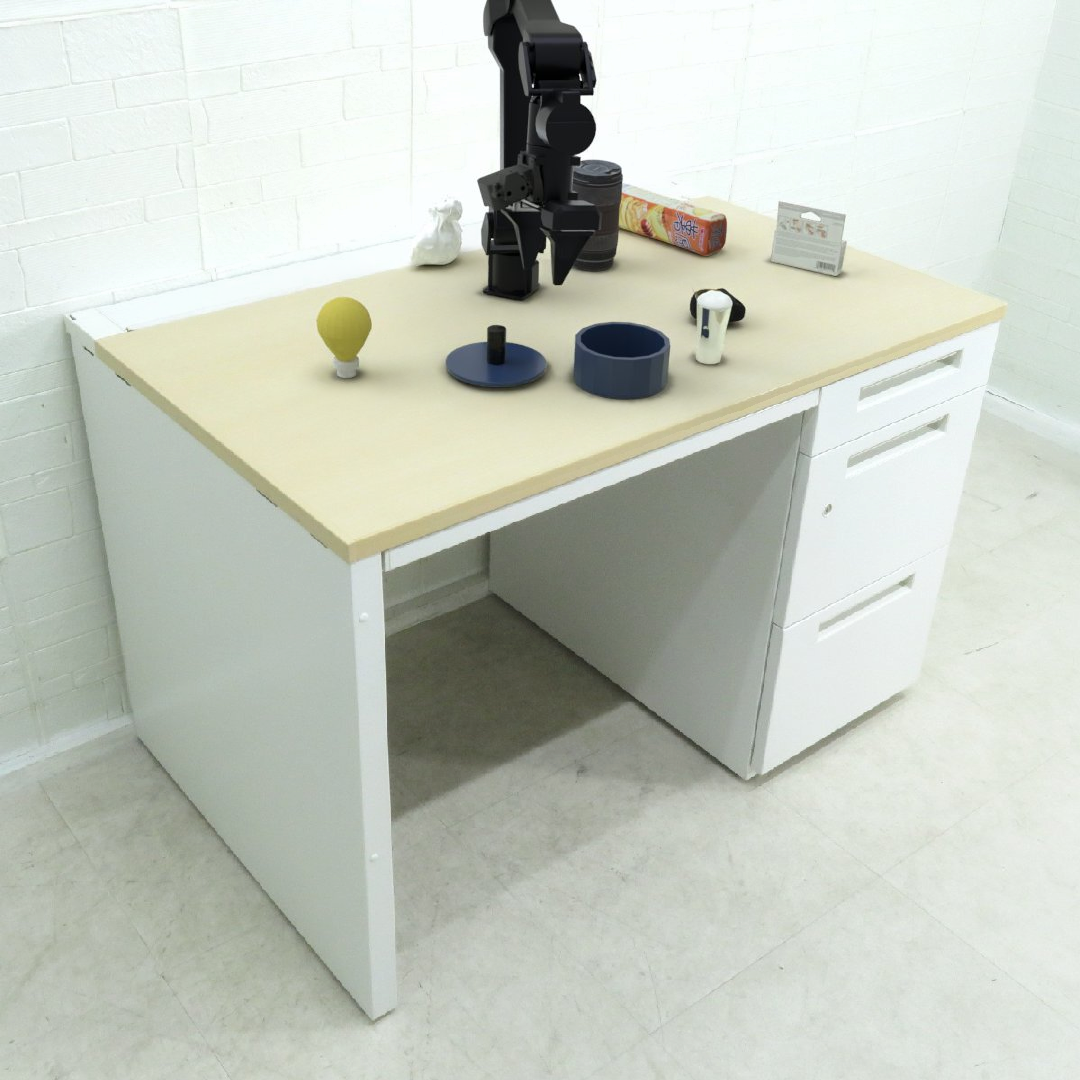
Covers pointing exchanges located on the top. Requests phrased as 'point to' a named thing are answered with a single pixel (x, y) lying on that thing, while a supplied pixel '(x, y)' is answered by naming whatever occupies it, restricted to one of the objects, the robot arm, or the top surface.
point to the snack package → (672, 221)
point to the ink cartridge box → (809, 239)
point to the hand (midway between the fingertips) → (542, 277)
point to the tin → (621, 360)
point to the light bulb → (344, 332)
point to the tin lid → (496, 361)
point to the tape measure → (736, 310)
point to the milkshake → (711, 325)
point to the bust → (439, 234)
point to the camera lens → (605, 191)
